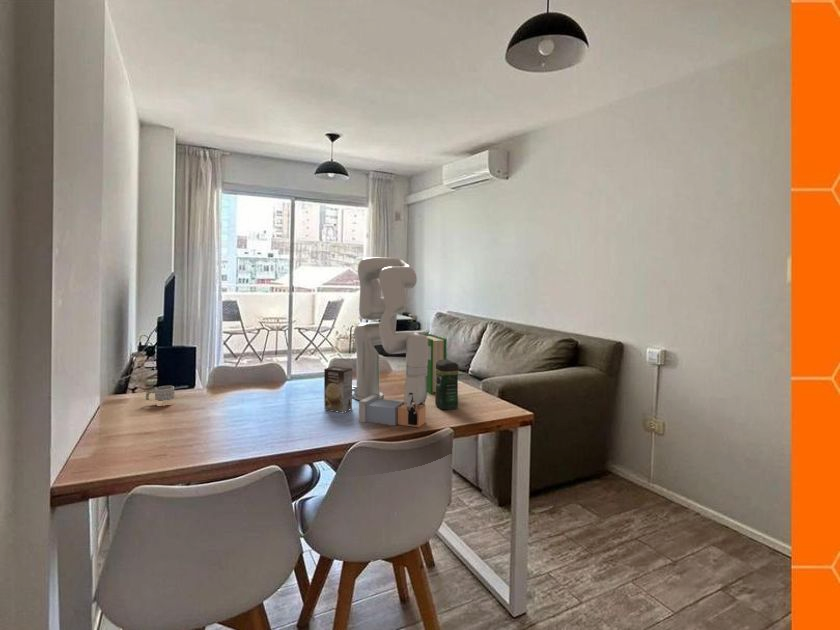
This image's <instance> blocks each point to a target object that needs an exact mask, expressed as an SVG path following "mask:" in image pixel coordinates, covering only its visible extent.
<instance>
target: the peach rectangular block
mask: <svg viewBox="0 0 840 630" xmlns="http://www.w3.org/2000/svg"><path fill="white" fill-rule="evenodd" d="M426 406H427V405H425V406H424V405H417V411H416V413H417V425H410V424H408V410H407V407H406V404H405V403H404V404H403V405H401V406H400V407H398V424H397V425H399V426H400V425H401V426H406V427H414V428H420V427H422V426H423V425H424V424H425V423H426V417H427V416H426V415H427V414H426ZM412 407H413V409H414V406H412Z"/></svg>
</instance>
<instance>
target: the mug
mask: <svg viewBox="0 0 840 630" xmlns="http://www.w3.org/2000/svg"><path fill="white" fill-rule="evenodd" d="M145 392H146V393H145V401H146V400H150V398H149V395H150V394H154V400H158V401H164V400H171V399H174V398H175V386H174V385H162V386H158V387H155V388H154V389H152V390H148V391H145Z"/></svg>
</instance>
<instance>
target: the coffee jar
mask: <svg viewBox="0 0 840 630" xmlns="http://www.w3.org/2000/svg"><path fill="white" fill-rule="evenodd" d="M459 371H460V370H459V364H458V363H457V362H454V361H451V360H449V359H446V360H439V361H438V362H437V363H436V392H435V395H434V396H435V397H434V398H435V400H434V401H435V403H434V404H435V406H436V407H437V408H439V409H441V410H448V411H450V410H451V411H452V410H454V409H457V408H458V407H459V389H458V387H459V381H458V380H459Z"/></svg>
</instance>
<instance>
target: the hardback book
mask: <svg viewBox="0 0 840 630" xmlns="http://www.w3.org/2000/svg"><path fill="white" fill-rule="evenodd" d="M419 334H420V333H419ZM420 335H425V336H427V338H428V375H427V376H426V378H427V394H429V395H433V393H436V363H437V362H438V361H439V360H447V350H448V349H447V344H448V341H447V339H448V338H445V337H443V336H439V335H435V334H432V333H422V334H420Z"/></svg>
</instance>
